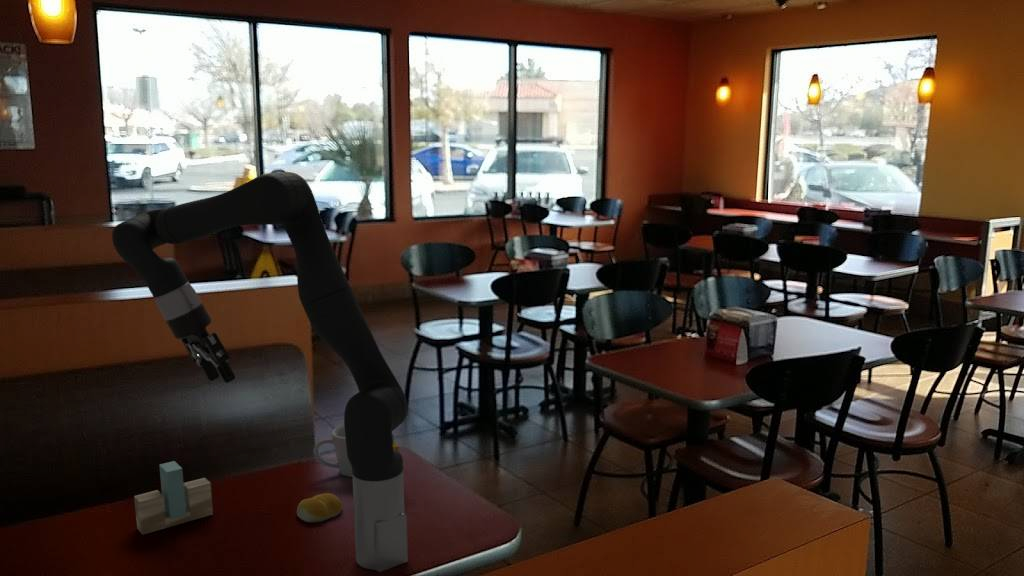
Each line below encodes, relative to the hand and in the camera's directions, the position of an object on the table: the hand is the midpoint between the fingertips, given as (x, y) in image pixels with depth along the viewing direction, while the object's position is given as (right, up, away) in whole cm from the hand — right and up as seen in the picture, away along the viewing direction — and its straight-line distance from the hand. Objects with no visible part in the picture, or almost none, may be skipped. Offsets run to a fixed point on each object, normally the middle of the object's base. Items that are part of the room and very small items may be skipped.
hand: (222, 379), depth 164 cm
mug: (+20, -25, +27) cm, 42 cm away
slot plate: (-11, -29, +3) cm, 31 cm away
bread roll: (+18, -29, +6) cm, 35 cm away
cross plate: (-11, -27, +2) cm, 30 cm away
